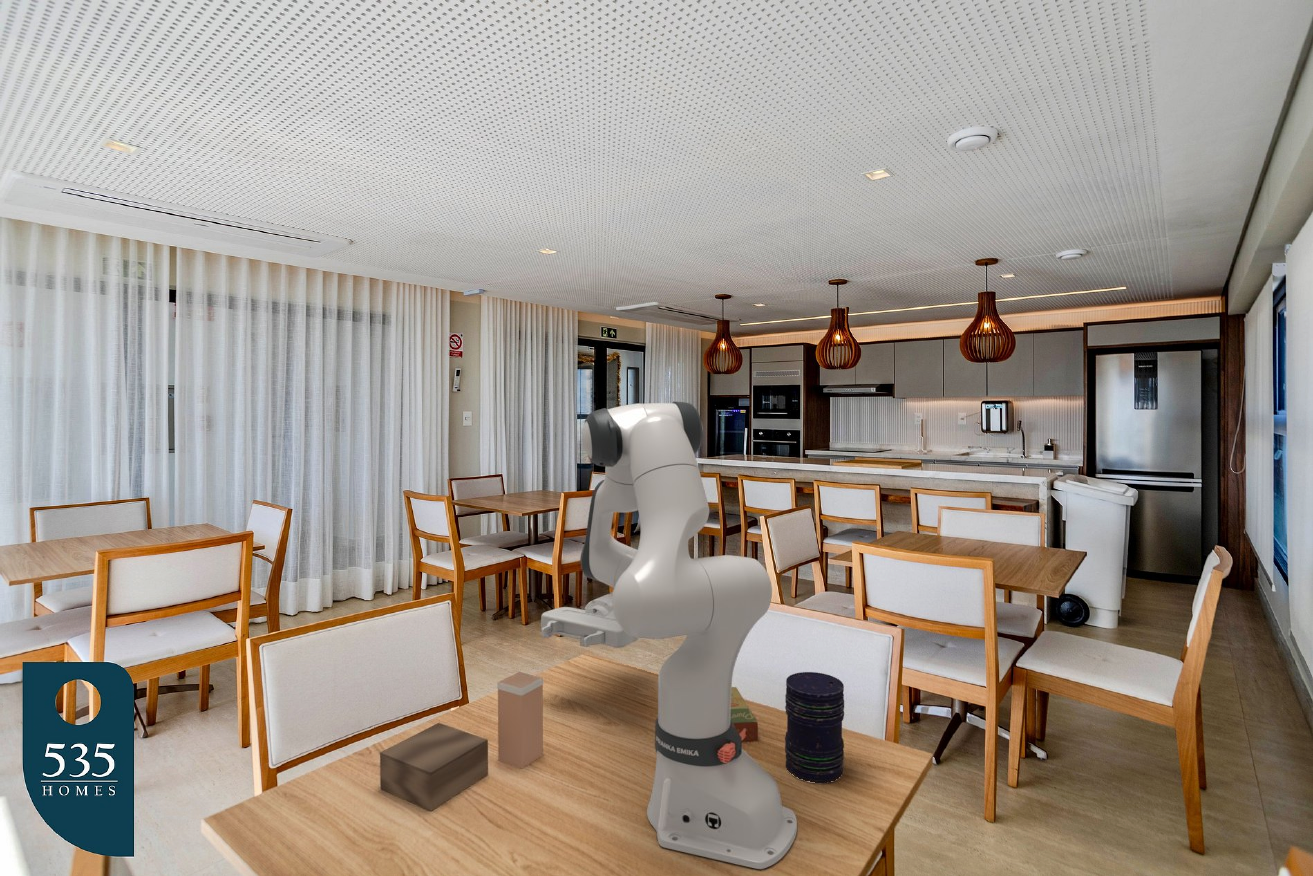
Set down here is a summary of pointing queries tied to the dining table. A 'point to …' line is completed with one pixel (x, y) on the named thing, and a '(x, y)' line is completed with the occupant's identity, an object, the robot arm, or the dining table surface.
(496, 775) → the dining table surface
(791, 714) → the storage jar
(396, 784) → the wooden block
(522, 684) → the tall carton
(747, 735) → the carton
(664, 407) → the robot arm
